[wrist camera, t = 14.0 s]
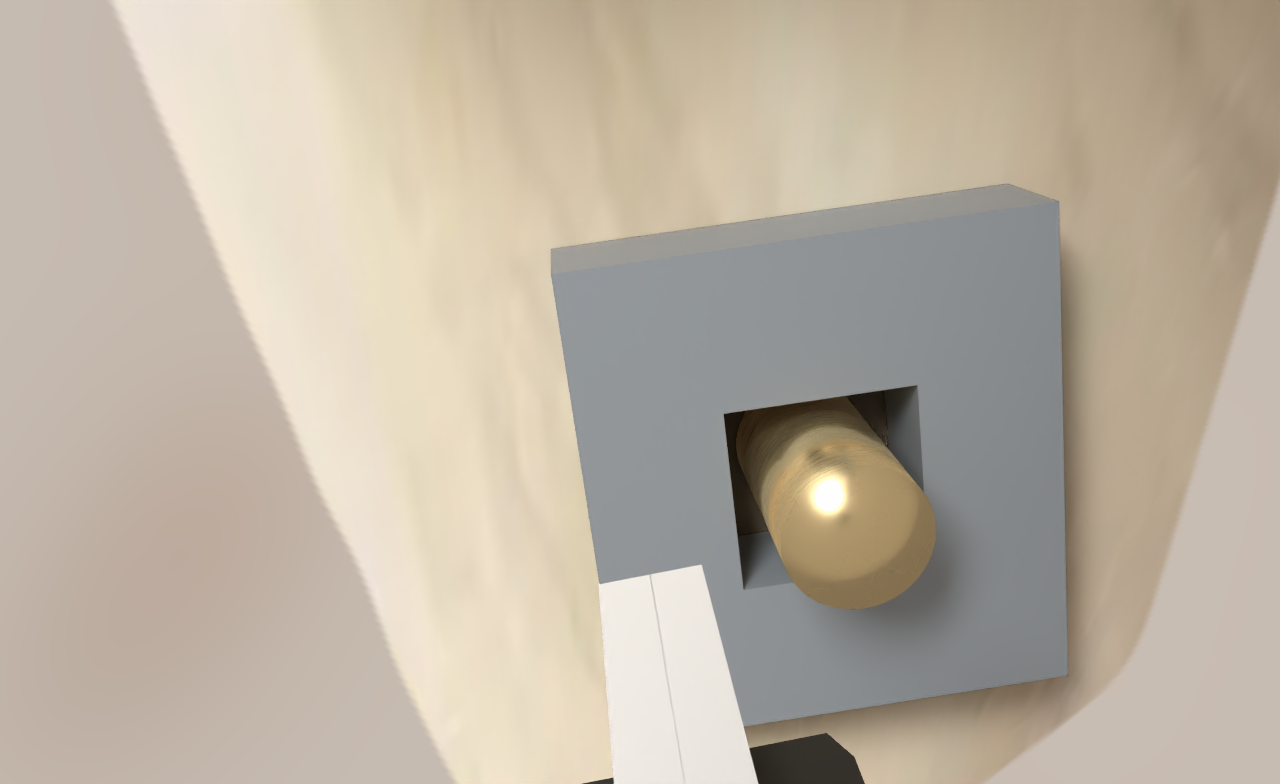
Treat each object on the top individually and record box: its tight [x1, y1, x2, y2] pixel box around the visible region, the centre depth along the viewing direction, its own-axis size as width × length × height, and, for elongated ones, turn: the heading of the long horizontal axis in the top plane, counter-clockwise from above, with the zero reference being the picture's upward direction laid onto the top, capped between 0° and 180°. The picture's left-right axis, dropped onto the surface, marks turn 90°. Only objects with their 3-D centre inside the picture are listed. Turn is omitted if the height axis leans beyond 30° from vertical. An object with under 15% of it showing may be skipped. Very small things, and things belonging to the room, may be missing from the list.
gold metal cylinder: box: [736, 396, 936, 609], centre depth 36 cm, size 4×4×8 cm
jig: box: [551, 184, 1068, 727], centre depth 38 cm, size 16×15×4 cm
